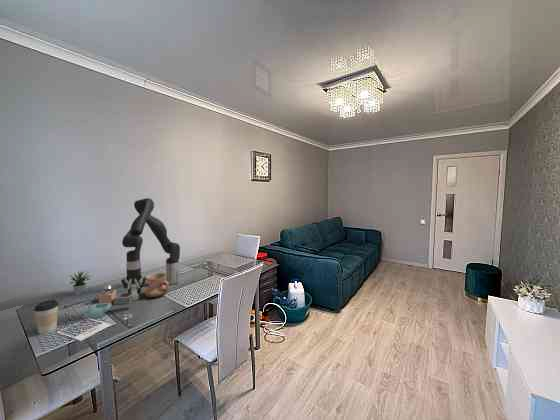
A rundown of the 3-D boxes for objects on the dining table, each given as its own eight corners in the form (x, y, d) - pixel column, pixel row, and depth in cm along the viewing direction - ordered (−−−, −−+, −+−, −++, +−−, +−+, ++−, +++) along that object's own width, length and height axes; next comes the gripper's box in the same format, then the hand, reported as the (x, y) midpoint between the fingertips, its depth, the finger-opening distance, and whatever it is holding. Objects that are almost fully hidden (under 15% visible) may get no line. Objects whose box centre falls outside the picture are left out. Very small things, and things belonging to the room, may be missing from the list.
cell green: (139, 296, 147) (139, 280, 146) (137, 300, 142) (136, 283, 142) (132, 297, 145) (131, 281, 145) (129, 300, 141) (129, 283, 140)
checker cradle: (136, 295, 162) (136, 289, 161) (129, 304, 149) (129, 297, 149) (122, 296, 160) (122, 290, 159) (114, 305, 147) (113, 298, 147)
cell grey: (113, 298, 155) (112, 283, 154) (109, 301, 151) (109, 285, 150) (105, 299, 154) (105, 283, 153) (102, 302, 150) (102, 286, 149)
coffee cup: (37, 337, 114) (36, 308, 113) (32, 331, 118) (31, 303, 117) (62, 328, 121) (61, 301, 120) (56, 323, 126) (55, 297, 125)
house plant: (75, 299, 154) (74, 275, 153) (59, 296, 157) (58, 273, 156) (96, 290, 168) (95, 269, 167) (81, 288, 171) (80, 267, 170)
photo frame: (80, 339, 112) (56, 332, 117) (80, 341, 112) (56, 334, 117) (110, 323, 125) (88, 317, 131) (110, 325, 126) (88, 319, 131)
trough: (111, 306, 146) (111, 302, 146) (101, 317, 133) (101, 312, 133) (95, 307, 143) (94, 303, 143) (82, 318, 131) (82, 314, 131)
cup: (116, 298, 157) (116, 290, 156) (111, 303, 150) (111, 294, 150) (104, 299, 155) (104, 290, 155) (99, 304, 148) (98, 295, 148)
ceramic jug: (138, 297, 159) (138, 278, 158) (153, 289, 173) (153, 271, 172) (160, 301, 155) (160, 281, 154) (174, 292, 169) (174, 273, 168)
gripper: (148, 264, 148) (149, 290, 149) (123, 266, 144) (124, 292, 145) (144, 268, 141) (145, 295, 142) (118, 270, 137) (119, 297, 138)
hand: (134, 293), depth 144 cm, fingers closed on cell green, 4 cm apart
